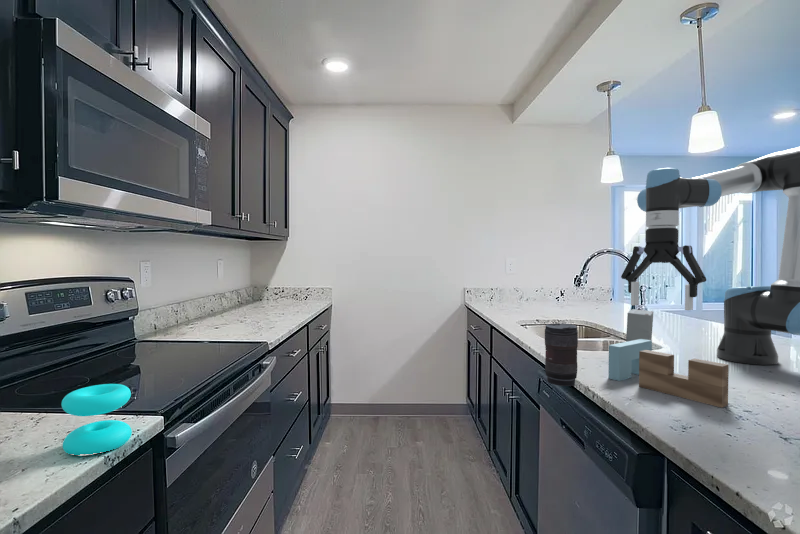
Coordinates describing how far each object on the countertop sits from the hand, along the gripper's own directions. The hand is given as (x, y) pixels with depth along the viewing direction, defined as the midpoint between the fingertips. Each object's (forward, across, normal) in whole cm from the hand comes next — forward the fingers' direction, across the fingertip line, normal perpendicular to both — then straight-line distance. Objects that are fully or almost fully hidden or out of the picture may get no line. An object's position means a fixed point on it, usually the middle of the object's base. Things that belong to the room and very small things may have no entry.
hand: (660, 307), depth 116 cm
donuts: (+20, -37, -124) cm, 131 cm away
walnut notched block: (+19, +10, -11) cm, 24 cm away
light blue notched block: (+19, -6, -3) cm, 20 cm away
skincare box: (+19, -12, +14) cm, 27 cm away
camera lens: (+19, -13, -25) cm, 34 cm away
